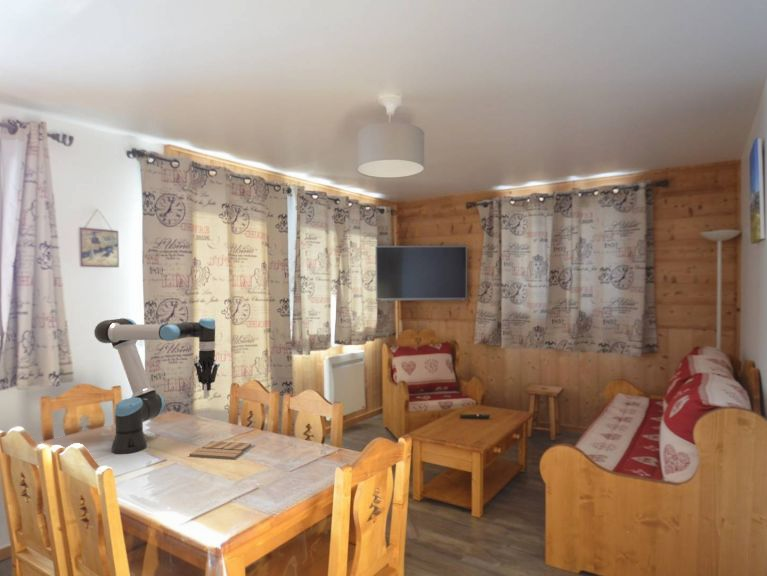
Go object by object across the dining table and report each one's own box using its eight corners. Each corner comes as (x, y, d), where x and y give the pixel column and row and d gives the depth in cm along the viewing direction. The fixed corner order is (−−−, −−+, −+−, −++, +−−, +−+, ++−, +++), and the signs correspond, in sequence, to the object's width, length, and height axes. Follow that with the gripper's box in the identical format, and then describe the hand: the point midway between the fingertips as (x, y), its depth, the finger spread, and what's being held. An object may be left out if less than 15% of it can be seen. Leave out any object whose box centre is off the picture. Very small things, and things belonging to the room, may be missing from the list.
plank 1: (202, 449, 228) (201, 447, 228) (212, 443, 237) (212, 441, 237) (221, 450, 226) (221, 448, 226) (231, 444, 235) (231, 442, 235)
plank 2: (222, 451, 226) (222, 448, 226) (232, 444, 235) (231, 442, 235) (242, 452, 224) (242, 449, 224) (251, 445, 233) (251, 443, 233)
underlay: (186, 459, 219) (186, 453, 219) (210, 444, 239) (210, 439, 239) (235, 462, 215) (235, 457, 215) (256, 447, 234) (255, 442, 234)
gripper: (190, 350, 239) (190, 397, 239) (214, 351, 236) (214, 399, 237) (199, 348, 246) (199, 394, 247) (222, 349, 244) (222, 395, 244)
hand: (206, 396), depth 242 cm, fingers closed
